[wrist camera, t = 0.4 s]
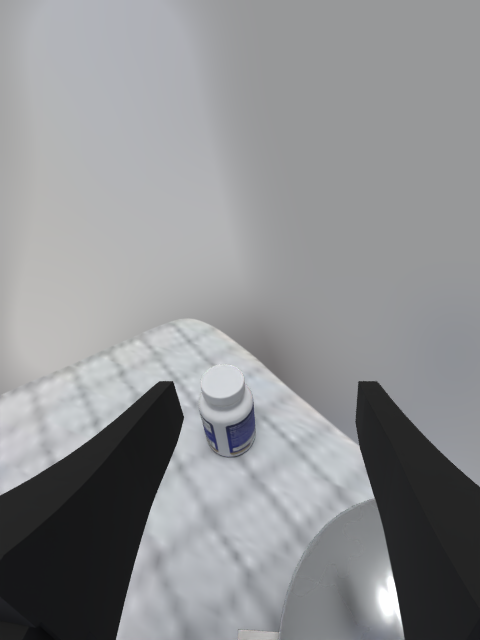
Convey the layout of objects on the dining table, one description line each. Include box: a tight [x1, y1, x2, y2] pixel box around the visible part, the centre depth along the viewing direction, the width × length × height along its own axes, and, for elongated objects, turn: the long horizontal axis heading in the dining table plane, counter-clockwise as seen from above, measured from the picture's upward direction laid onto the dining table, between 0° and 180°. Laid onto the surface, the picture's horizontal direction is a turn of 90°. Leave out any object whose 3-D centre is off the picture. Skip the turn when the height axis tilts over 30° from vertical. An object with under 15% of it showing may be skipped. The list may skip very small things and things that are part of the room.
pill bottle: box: [198, 364, 256, 457], centre depth 29 cm, size 5×5×9 cm
